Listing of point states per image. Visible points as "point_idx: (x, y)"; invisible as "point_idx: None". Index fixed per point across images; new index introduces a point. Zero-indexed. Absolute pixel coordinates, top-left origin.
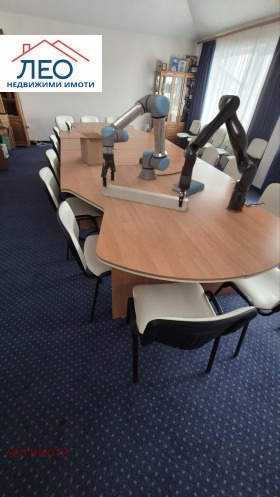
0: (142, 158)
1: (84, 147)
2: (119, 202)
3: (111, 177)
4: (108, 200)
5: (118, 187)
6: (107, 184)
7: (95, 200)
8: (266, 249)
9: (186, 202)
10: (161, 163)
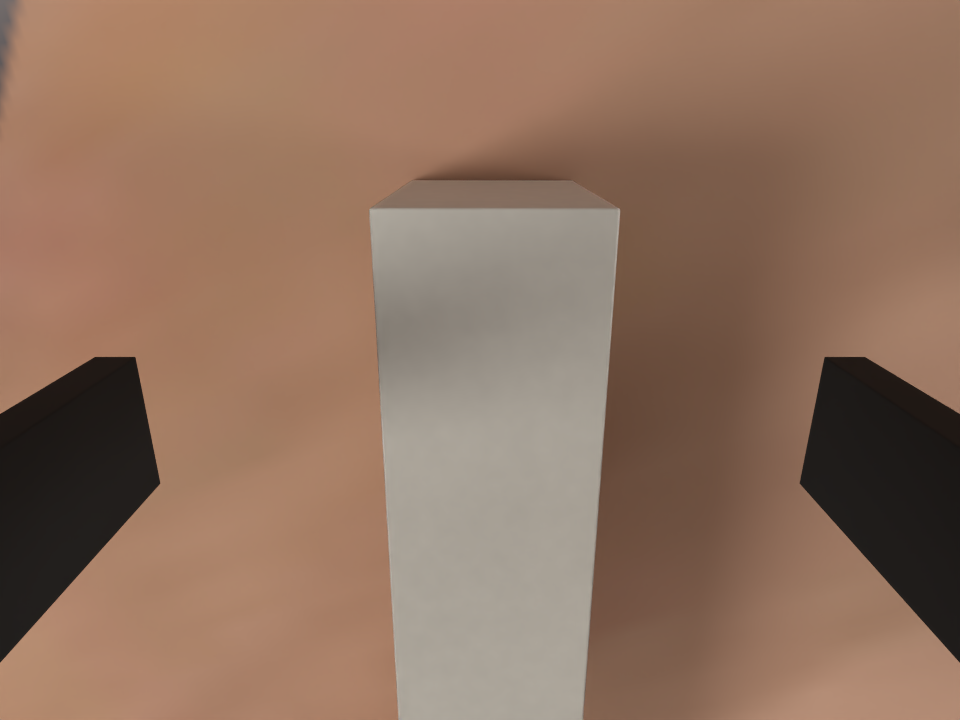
0: None
1: None
2: (267, 600)
3: (897, 454)
4: (230, 402)
5: (476, 669)
6: (562, 307)
7: (60, 149)
8: None
9: None
10: None
